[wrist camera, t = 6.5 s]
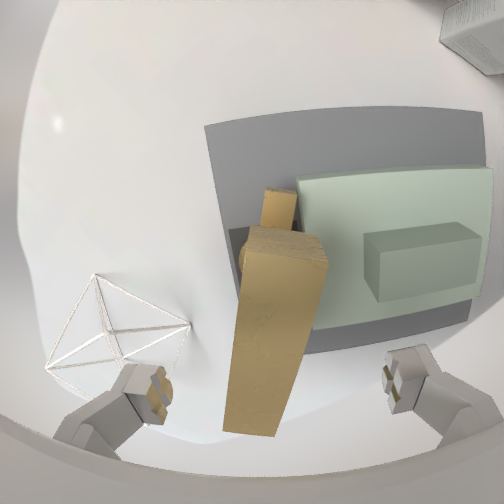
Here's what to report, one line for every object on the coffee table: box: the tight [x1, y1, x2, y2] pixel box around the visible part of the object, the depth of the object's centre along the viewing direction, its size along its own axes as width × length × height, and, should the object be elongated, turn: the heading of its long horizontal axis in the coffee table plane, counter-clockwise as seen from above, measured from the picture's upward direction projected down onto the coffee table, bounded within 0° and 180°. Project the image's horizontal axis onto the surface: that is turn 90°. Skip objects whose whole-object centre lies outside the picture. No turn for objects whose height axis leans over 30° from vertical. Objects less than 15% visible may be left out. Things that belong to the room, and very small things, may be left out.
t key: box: [223, 186, 329, 437], centre depth 15 cm, size 10×4×10 cm, turn 173°
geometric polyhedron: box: [45, 274, 191, 426], centre depth 23 cm, size 12×11×9 cm
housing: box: [204, 106, 486, 355], centre depth 21 cm, size 20×18×4 cm
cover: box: [296, 164, 493, 330], centre depth 16 cm, size 14×10×5 cm
